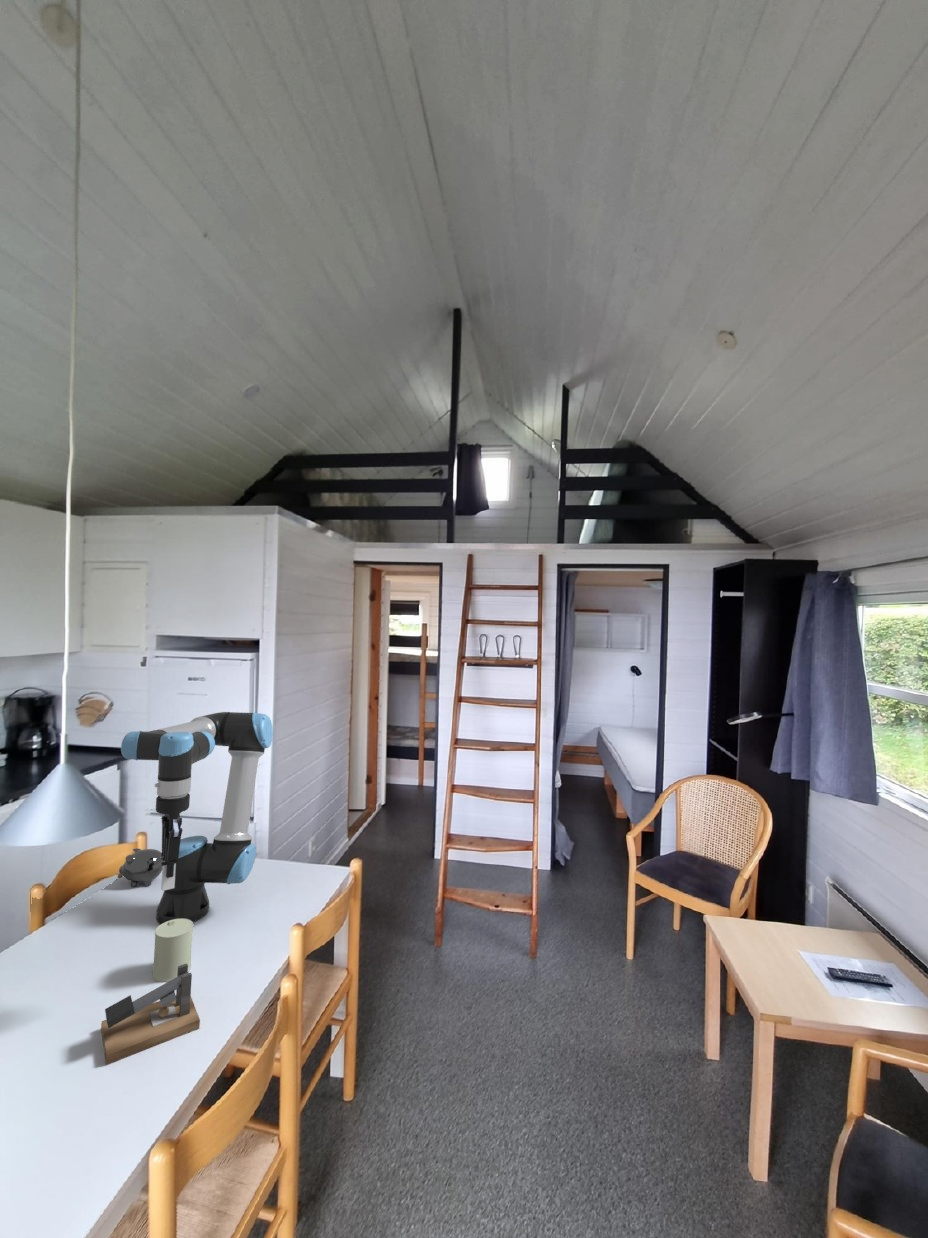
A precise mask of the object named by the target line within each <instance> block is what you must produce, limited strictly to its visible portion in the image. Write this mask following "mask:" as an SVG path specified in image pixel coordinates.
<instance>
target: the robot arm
mask: <svg viewBox="0 0 928 1238" xmlns="http://www.w3.org/2000/svg"><path fill="white" fill-rule="evenodd" d="M273 731H274V730H273V724H272V720H271V718H270V717H269V715H268V714H266V713H259V712H238V711H237V712H233V711H232V712H231V711H220V712H214V713H210V714H205V715H200V716H198V717H194V718H193V719H192V720H191V721H189V722H185V723H180V724H177V725H171V726H167V727H164V728H160V729H154V730H150V731H142V730H139V731H138V730H137V731H129V732H127V734H125V735H124V737H123V738H122V741H121V745H120V752H121V755H122V757H123V758H124V759H126V760H135V761H140V760H141V761H158V767H157V769H158V770H157V771H158V772H157V782H156V783H154V787H155V788H156V795H157V797H156V798H155V812H156V813H157V814H160V815H162V816H161V818H160V819H161V855H162V856H163V858H162V860H163V861H165V862H162V863H161V865H162V866H163V868H162V872H161V885H160V886H161V887H160V888H161V891H162V892H163V893H162V895H161V899H160V901H159V903H158V906H157V908H156V912H155V920H156V922H157V923H158V924H160V925H161V924H163V923H165V922H167V921H170V920H174V919H189V920H191V921H192V922H193V923H194V922H197V921H198V920H200V919H202V918H203V917H205V916H206V915H207V914H208V912H209V911H210V898H209V896H208V893H207V889H206V886H205V884H227V885H231V884H241V883H243V882H245V881H246V880H247V879H248V877H249V876H250V874H251V871H252V869H253V867H254V864H255V861H256V857H257V846H256V845H255V844H253V843H252V839H253V838H252V836H251V835H250V834H249V827H250V819H251V812H252V807H253V806H252V805H253V799H254V793H255V786H256V780H257V779H256V778H257V772H258V765H259V759H260V757H262V756H263V755H264V754H265V750H266V749H269V748H270V747H271V745H272V742H273V738H274V737H273V736H274V735H273ZM217 746H218V747H221V746H222V747H228V750H227V752H228V754H229V755H230V757H231V761H230V766H229V773H228V781H227V786H226V790H225V791H226V792H225V798H224V804H223V811H222V817H221V823H220V829H219V832H218V834H217V835H216V836H214V837H213V841H212V842H211V843H210V842H209V840H208V838H207V836H204V835H191V836H188V837H184V838H182V834H183V828H182V827H181V826H182V824H183V823H182V822H183V817H181V815H180V814H181V813H182V812H183V813H184V812H186V811H188V809H189V808H190V801H191V800H190V799H191V798H190V797H191V794H190V792H191V787H192V786H191V785H192V765H193V764H195V763H197V762H199V761H201V760H205V759H206V758H207V757H208V756H210V755H211V754H212V753H213V751H214V750H215V747H217Z"/></svg>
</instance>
